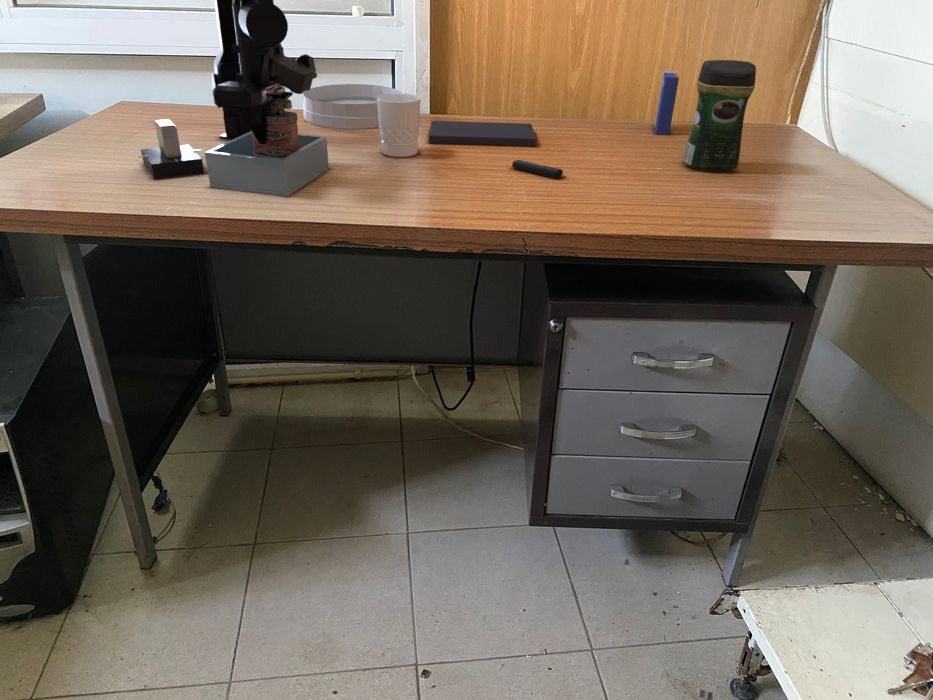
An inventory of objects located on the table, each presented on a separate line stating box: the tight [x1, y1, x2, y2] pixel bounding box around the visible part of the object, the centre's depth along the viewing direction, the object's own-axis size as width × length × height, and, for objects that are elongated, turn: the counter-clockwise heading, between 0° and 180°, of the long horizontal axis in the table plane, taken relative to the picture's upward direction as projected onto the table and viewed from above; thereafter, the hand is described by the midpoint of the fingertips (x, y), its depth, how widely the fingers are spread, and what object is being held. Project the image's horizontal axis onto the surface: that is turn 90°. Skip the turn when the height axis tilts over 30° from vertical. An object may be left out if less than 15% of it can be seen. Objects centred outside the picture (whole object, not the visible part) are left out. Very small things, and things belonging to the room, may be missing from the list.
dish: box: [302, 83, 403, 130], centre depth 155 cm, size 22×22×5 cm
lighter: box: [251, 96, 300, 159], centre depth 113 cm, size 8×3×10 cm, turn 83°
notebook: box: [428, 120, 537, 147], centre depth 144 cm, size 13×2×21 cm
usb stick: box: [511, 159, 564, 179], centre depth 124 cm, size 10×3×2 cm, turn 54°
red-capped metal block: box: [154, 118, 182, 159], centre depth 117 cm, size 6×2×5 cm, turn 31°
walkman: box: [654, 70, 680, 136], centre depth 151 cm, size 8×3×12 cm, turn 169°
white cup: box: [377, 92, 421, 158], centre depth 130 cm, size 8×8×10 cm
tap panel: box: [138, 143, 205, 180], centre depth 119 cm, size 10×10×3 cm
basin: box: [204, 131, 330, 197], centre depth 116 cm, size 16×14×6 cm
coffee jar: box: [683, 59, 757, 172], centre depth 126 cm, size 10×8×19 cm
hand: (267, 141), depth 114 cm, fingers closed on lighter, 3 cm apart
